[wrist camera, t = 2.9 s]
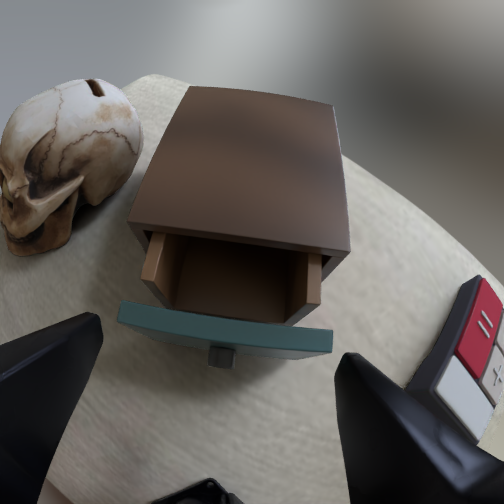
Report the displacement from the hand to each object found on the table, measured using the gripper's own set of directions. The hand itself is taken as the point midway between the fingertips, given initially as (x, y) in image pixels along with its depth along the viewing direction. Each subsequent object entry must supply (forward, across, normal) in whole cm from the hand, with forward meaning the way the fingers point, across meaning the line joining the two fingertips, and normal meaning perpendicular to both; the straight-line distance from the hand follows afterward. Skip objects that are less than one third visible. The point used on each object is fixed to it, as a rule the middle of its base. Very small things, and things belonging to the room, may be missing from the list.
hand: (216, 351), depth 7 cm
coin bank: (+19, +19, 0) cm, 27 cm away
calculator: (+10, -25, +10) cm, 28 cm away
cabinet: (+19, 0, 0) cm, 19 cm away
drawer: (+14, 0, +4) cm, 14 cm away
